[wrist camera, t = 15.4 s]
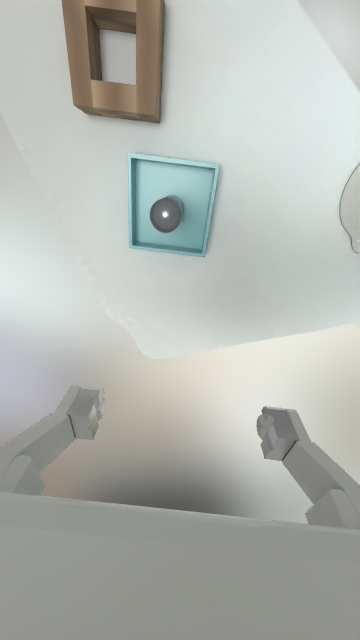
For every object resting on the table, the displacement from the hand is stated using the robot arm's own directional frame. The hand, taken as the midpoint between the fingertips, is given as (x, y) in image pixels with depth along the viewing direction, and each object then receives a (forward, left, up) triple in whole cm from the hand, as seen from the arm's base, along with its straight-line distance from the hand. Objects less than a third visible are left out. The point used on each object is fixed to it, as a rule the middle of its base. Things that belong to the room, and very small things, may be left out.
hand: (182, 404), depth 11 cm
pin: (+4, -6, -33) cm, 34 cm away
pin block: (+12, -22, -34) cm, 42 cm away
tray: (+4, -6, -34) cm, 35 cm away
